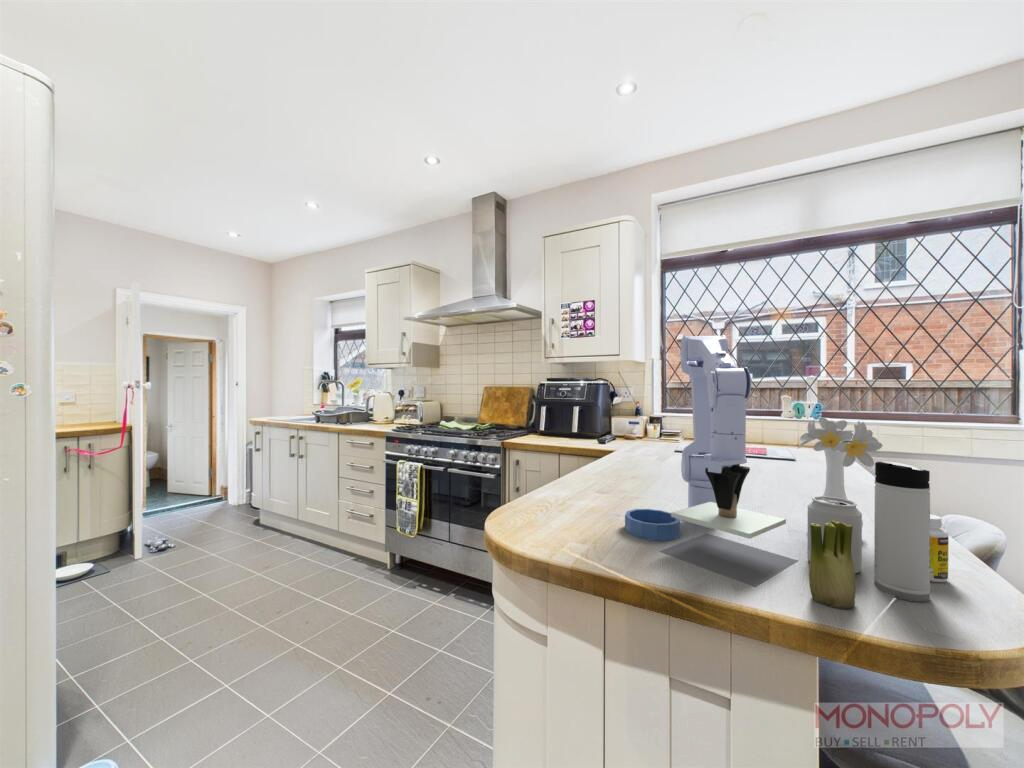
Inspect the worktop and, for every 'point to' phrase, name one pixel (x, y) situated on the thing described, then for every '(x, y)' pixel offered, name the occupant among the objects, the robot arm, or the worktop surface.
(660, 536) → the bowl
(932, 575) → the supplement bottle
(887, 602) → the worktop surface
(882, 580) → the travel mug
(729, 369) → the robot arm
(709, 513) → the lid
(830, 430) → the flower vase
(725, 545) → the mat
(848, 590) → the fennel bulb
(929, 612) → the worktop surface
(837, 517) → the can
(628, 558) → the worktop surface
